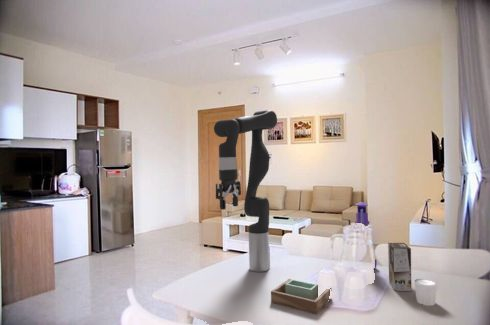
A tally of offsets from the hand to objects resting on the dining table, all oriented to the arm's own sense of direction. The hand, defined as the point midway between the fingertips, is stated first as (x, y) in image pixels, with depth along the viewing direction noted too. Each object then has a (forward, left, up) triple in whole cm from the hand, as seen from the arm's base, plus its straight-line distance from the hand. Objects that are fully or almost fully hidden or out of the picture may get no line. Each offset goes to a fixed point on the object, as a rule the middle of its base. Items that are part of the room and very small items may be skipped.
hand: (229, 207), depth 137 cm
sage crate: (0, +32, -30) cm, 44 cm away
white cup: (-20, +69, -31) cm, 78 cm away
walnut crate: (+1, +32, -31) cm, 44 cm away
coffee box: (-30, +59, -31) cm, 73 cm away
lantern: (-45, +41, -31) cm, 69 cm away
